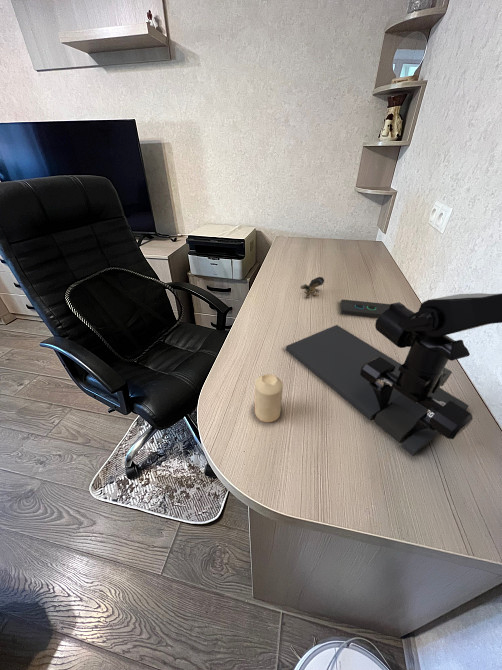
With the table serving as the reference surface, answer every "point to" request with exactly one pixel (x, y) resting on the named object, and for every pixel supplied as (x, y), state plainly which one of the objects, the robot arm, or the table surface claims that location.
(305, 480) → the table surface
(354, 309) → the smart home device
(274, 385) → the candle
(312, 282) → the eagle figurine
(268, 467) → the table surface
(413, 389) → the robot arm
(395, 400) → the mat
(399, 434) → the black block
